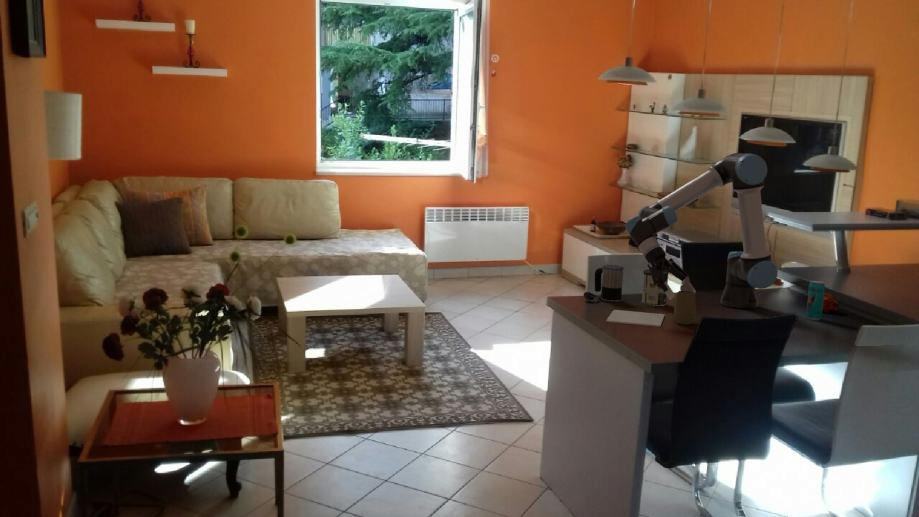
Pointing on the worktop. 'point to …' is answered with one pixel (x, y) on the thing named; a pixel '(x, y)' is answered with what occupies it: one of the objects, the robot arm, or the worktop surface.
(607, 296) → the milk frother
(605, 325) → the worktop surface
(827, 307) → the dragon fruit
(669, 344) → the worktop surface
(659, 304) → the coffee can
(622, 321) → the mat
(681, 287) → the squeeze bottle
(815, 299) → the beverage can
